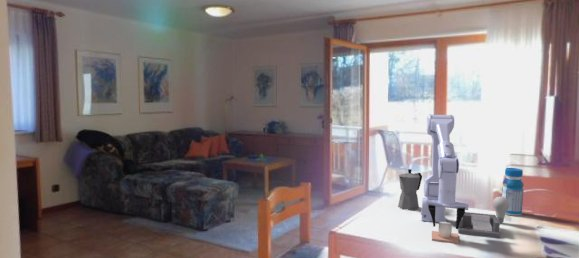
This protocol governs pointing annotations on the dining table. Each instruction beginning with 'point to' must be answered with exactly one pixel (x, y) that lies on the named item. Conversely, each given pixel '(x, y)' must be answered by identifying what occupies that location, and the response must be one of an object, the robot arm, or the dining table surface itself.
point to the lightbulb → (500, 207)
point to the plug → (445, 229)
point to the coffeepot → (409, 190)
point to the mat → (452, 240)
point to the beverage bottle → (513, 190)
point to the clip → (481, 222)
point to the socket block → (466, 223)
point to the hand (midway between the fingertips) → (445, 227)
